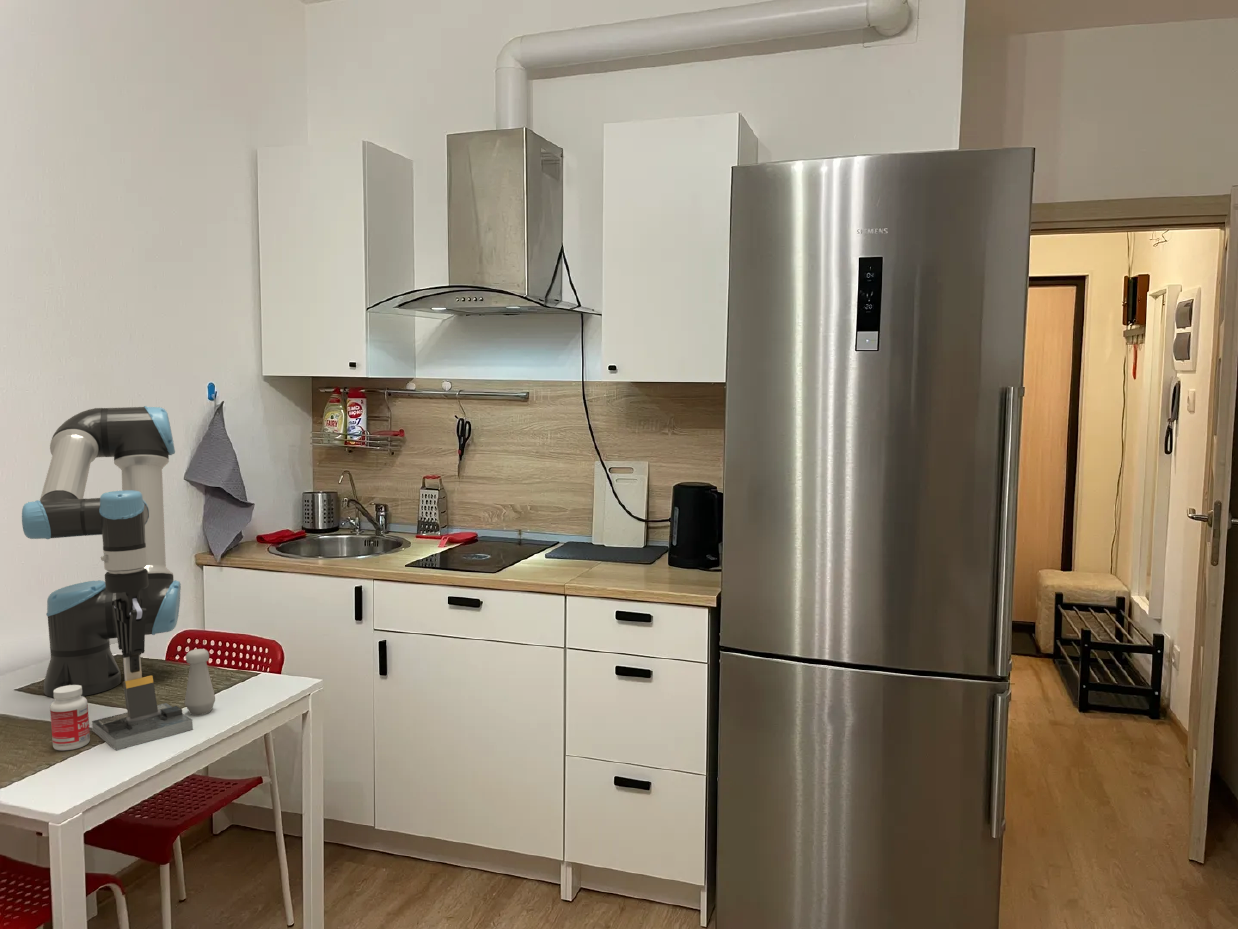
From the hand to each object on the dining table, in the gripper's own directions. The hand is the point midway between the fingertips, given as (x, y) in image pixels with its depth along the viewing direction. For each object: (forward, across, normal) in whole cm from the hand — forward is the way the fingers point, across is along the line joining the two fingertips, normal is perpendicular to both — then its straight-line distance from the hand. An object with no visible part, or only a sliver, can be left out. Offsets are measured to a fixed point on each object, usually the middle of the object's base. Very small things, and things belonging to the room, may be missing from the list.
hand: (133, 686), depth 188 cm
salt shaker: (+8, +1, +12) cm, 15 cm away
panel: (+8, +3, 0) cm, 9 cm away
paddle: (+5, +4, 0) cm, 7 cm away
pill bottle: (+8, +1, -12) cm, 15 cm away
